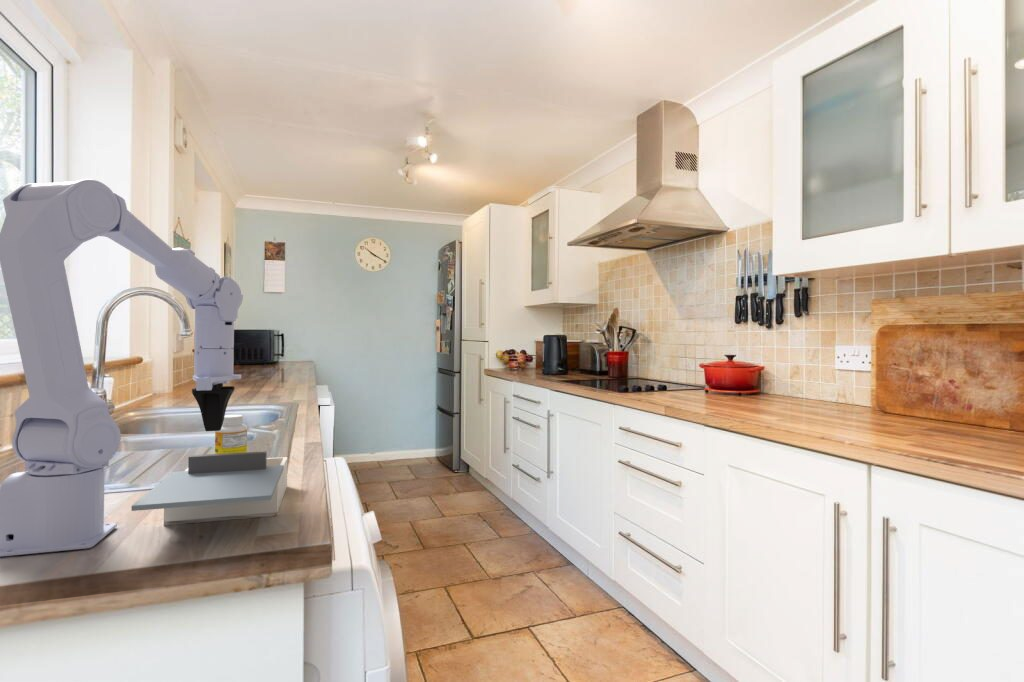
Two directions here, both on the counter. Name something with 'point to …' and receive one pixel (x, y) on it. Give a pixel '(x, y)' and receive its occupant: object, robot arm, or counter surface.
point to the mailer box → (232, 505)
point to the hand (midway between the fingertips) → (213, 430)
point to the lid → (215, 482)
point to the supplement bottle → (231, 436)
